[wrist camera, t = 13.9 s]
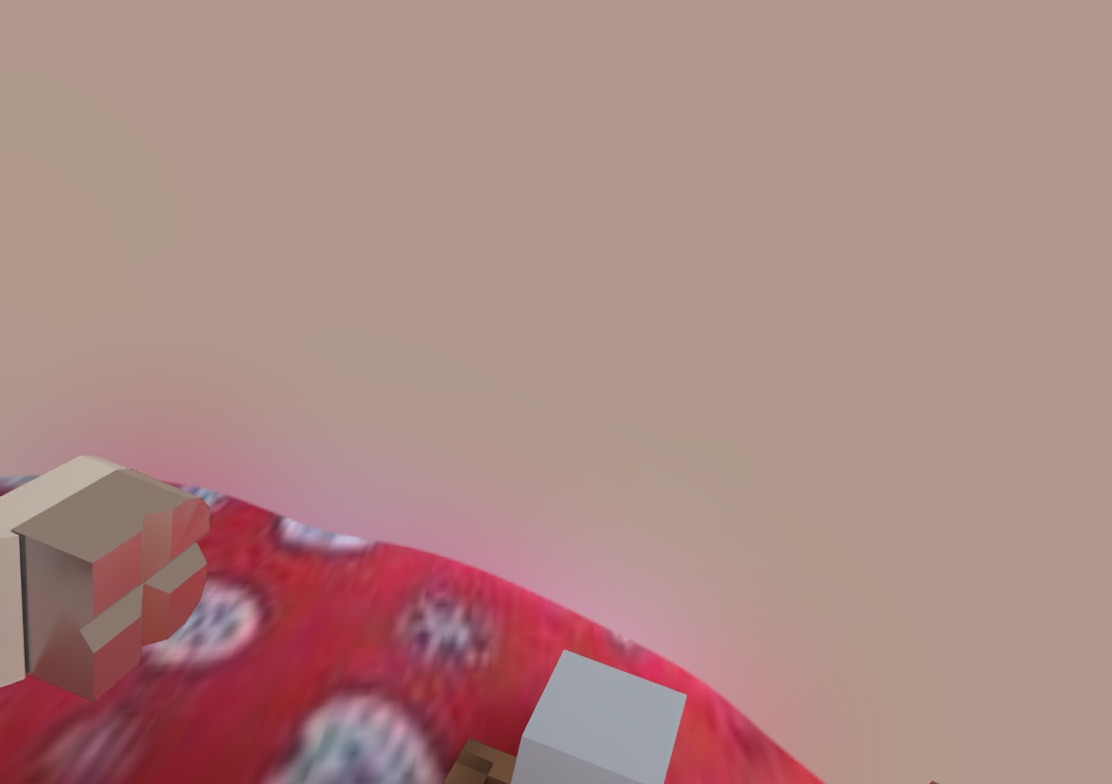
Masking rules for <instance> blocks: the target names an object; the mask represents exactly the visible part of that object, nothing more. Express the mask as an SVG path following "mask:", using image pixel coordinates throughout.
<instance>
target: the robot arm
mask: <svg viewBox="0 0 1112 784" xmlns="http://www.w3.org/2000/svg"><path fill="white" fill-rule="evenodd" d="M208 532H209V506H208V505H207V504H206V503H205V502H204V501H203V500H202V499H201V498H200V497H198V496H195V495H193V494H190V493H188V492H186V491H183V490H181V489H178V488H176V487H174V486H171V485H169V484H166V483H164V482H162V481H159V480H157V479H154V478H152V477H149V476H147V475H145V474H142V473H140V472H137V471H135V470H133V469H127V468H126V467H124V466H121V465H119V464H116V463H114V462H112V461H109V460H107V459H104V458H101V457H99V456H97V455H80V456H78V457H76V458H74V459H73V460H71V461H69V462H67V463H65V464H63V465H61V466H59V467H57V468H55V469H53V470H51V471H49V472H47V473H45V474H43V475H42V476H40V477H38V478H36V479H34V480H32V481H30V482H28V483H26V484H24V485H22V486H20V487H18V488H16V489H14V490H13V491H11V492H9V493H7V494H5V495H3V496H1V497H0V688H1V687H3V686H6V685H9V684H12V683H14V682H17V681H20V680H23V679H25V678H26V674H27V675H30V676H32V677H34V678H37V679H39V680H42V681H44V682H46V683H49V684H51V685H54V686H56V687H59V688H61V689H63V690H66V691H68V692H71V693H73V694H76V695H78V696H80V697H83V698H85V699H88V700H90V701H92V702H94V701H96V700H97V699H98V698H99V697H100V696H101V695H103V694H104V693H105V692H106V691H107V690H109V689H110V688H111V687H112V686H113V685H114V684H116V683H117V682H118V681H119V680H120V679H121V678H123V677H124V676H125V675H126V674H127V673H129V672H130V671H131V670H132V669H133V668H134V667H136V666H137V665H138V664H139V661H140V654H141V647H142V646H144V645H148V644H151V643H155V642H159V641H162V640H166V639H168V638H169V637H171V636H172V635H173V634H174V633H175V632H176V631H177V630H178V629H179V628H181V627H182V626H183V625H184V624H185V623H186V621H187V620H188V618H189V617H190V615H191V614H192V612H193V611H194V609H195V607H196V606H197V604H198V603H199V601H200V599H201V596H202V592H203V589H204V586H205V583H206V574H207V562H206V560H205V558H204V556H203V554H202V552H201V550H200V548H199V546H198V544H197V542H198V541H199V540H200V539H201V538H202V537H203V536H205V535H206V534H207V533H208ZM930 784H939V783H936V782H933V781H932V782H931V783H930Z"/></svg>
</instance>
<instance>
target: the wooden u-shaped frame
mask: <svg viewBox="0 0 1112 784" xmlns="http://www.w3.org/2000/svg"><path fill="white" fill-rule="evenodd" d="M516 759H517V757H515V756H512V755H510V754H507V753H505V752H502V751H500V750H497V749H495V748H492V747H490V746H487V745H485V744H482V743H480V742H477V741H475V740H472V739H470V738H469V739H468V741H467V743H466V744H465V746H464V748H463V750H462V751H461V753H460V755H459V757H458V758H457V760H456V762H455V764H454V765H453V767H452V769H451V771H450V772H449V774H448V776H447V778H446V779H445V781H444V783H443V784H511V780H512V776H513V772H514V768H515V763H516Z"/></svg>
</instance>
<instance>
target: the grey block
mask: <svg viewBox="0 0 1112 784" xmlns="http://www.w3.org/2000/svg"><path fill="white" fill-rule="evenodd" d="M686 697H687V695H686V694H683V693H680V692H678V691H675V690H672V689H669V688H667V687H664V686H661V685H659V684H656V683H653V682H650V681H648V680H645V679H642V678H640V677H637V676H634V675H632V674H629V673H626V672H623V671H621V670H618V669H615V668H613V667H610V666H607V665H605V664H602V663H599V662H596V661H594V660H591V659H588V658H586V657H583V656H580V655H577V654H575V653H572V652H569V651H567V650H564V651H563V653H562V655H561V657H560V659H559V661H558V663H557V665H556V667H555V669H554V671H553V673H552V675H551V678H550V680H549V682H548V684H547V686H546V688H545V690H544V692H543V694H542V696H541V698H540V700H539V702H538V704H537V706H536V708H535V710H534V712H533V714H532V716H531V718H530V720H529V722H528V724H527V726H526V728H525V730H524V733H523V735H522V738H521V742H520V746H519V751H518V755H517V759H516V763H515V768H514V772H513V776H512V780H511V784H664V780H665V776H666V773H667V769H668V765H669V761H670V757H671V754H672V750H673V746H674V742H675V738H676V735H677V731H678V727H679V723H680V720H681V716H682V712H683V708H684V704H685V701H686Z"/></svg>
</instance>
